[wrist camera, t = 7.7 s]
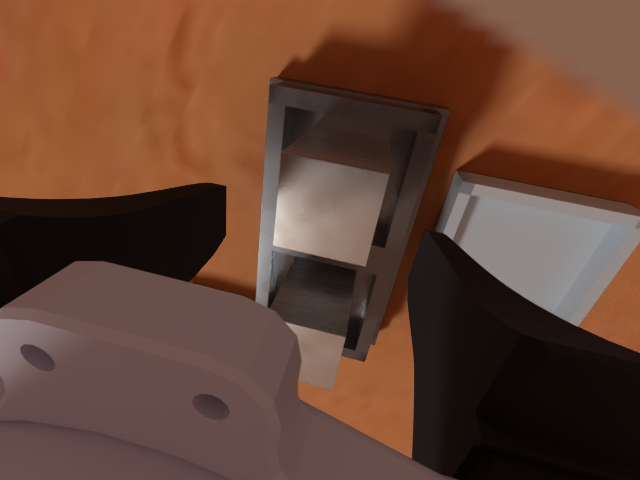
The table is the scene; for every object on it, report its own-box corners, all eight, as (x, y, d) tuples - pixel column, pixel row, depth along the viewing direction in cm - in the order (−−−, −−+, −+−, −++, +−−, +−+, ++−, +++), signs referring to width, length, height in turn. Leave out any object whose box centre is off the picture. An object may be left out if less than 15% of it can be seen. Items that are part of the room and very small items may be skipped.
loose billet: (390, 139, 17) (389, 174, 12) (372, 210, 19) (365, 266, 14) (314, 125, 17) (281, 152, 12) (304, 195, 19) (273, 245, 14)
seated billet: (357, 269, 21) (345, 337, 16) (345, 315, 23) (332, 390, 18) (296, 255, 21) (265, 317, 16) (289, 302, 23) (260, 371, 18)
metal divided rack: (447, 107, 17) (457, 115, 14) (375, 333, 25) (373, 365, 22) (277, 76, 18) (257, 79, 15) (260, 304, 26) (245, 332, 23)
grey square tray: (629, 204, 17) (655, 219, 16) (546, 328, 22) (559, 351, 20) (456, 170, 18) (462, 181, 16) (410, 296, 23) (411, 316, 21)
